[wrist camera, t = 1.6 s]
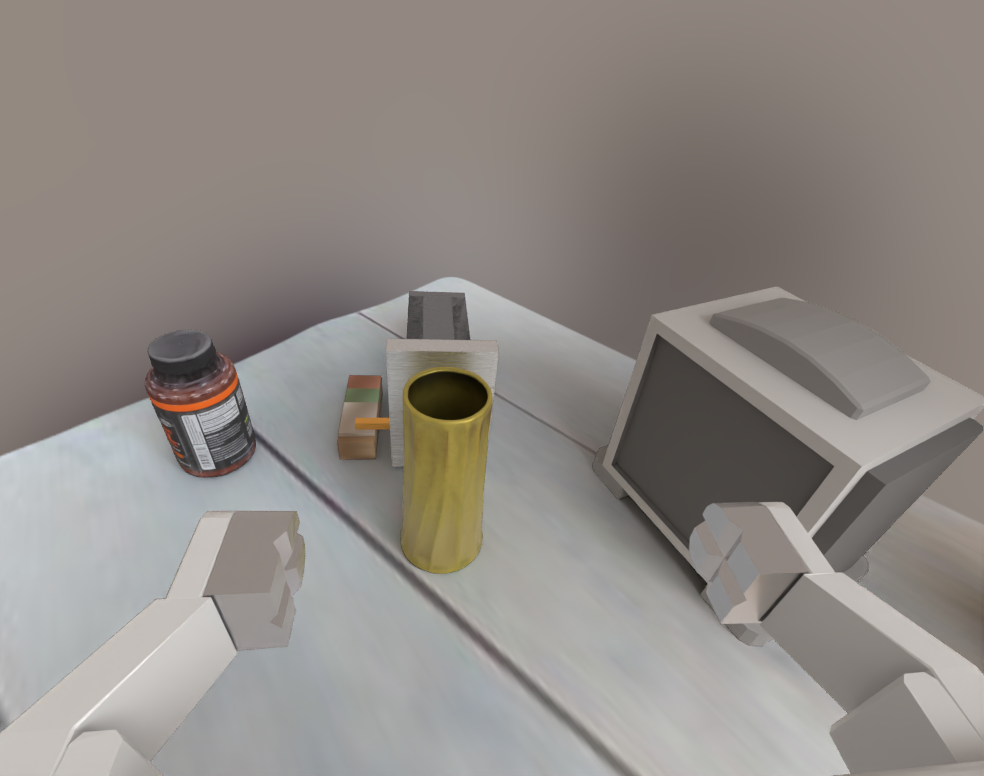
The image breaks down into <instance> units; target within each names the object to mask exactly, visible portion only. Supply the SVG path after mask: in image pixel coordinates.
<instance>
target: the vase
mask: <svg viewBox="0 0 984 776" xmlns="http://www.w3.org/2000/svg"><path fill="white" fill-rule="evenodd" d="M402 397H403V437H404V469H403V523H402V529H401V546H402V549H403V552H404V554H405V555H406V557H407V558H408V560H409V561H410V562H411V563H412V564H414V565H415V566H417V567H418V568H420V569H422V570H425V571H428V572H432V573H437V574H444V573H451V572H455V571H458V570H460V569H462V568H464V567H465V566H467V565H468V564H469V563H471V562H472V561H473V560H474V559H475V557H476V556H477V555H478V553H479V551H480V548H481V545H482V537H483V534H482V514H483V491H484V482H485V471H486V459H487V447H488V435H489V426H490V419H491V411H492V401H493V398H492V391H491V388H490V387H489V385H488V384H487V383H486V382H485V381H484V380H483V379H482V378H481V377H480V376H479V375H477V374H475V373H473V372H471V371H468V370H464V369H460V368H455V367H435V368H430V369H427V370H424V371H421V372H419V373H417V374H415V375H414V376H412V377H411V378H410V379H409V380H408V381H407V382H406V384H405V386H404V388H403V395H402Z"/></svg>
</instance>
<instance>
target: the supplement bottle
mask: <svg viewBox="0 0 984 776" xmlns="http://www.w3.org/2000/svg"><path fill="white" fill-rule="evenodd" d="M148 354H149V357H150V360H151V364H152V366H153V367H152V368H151V369H150V370H149V372H148V374H147V376H146V379H145V387H146V390H147V393H148V395H149V398H150V400H151V401H152V405H153V407H154V409H155V412H156V414H157V416H158V418H159V420H160V422H161V425H162V427H163V429H164V431H165V433H166V436H167V438H168V440H169V442H170V445H171V447H172V450H173V452H174V454H175V457H176V459H177V460H178V462H179V464H180V465H181V467H182V468H183V469H184V470H185V471H186V472H188V473H190V474H192V475H195V476H197V477H217V476H222V475H225V474H228V473H230V472H232V471H235V470H236V469H238V468H239V467H241V466H243V465H244V464H245V463H247V461H248V460H249V459H250V458H251V456H252V455H253V453H254V451H255V447H256V440H255V434H254V431H253V427H252V424H251V420H250V417H249V414H248V410H247V406H246V403H245V400H244V396H243V392H242V389H241V386H240V382H239V379H238V376H237V373H236V369H235V367H234V365H233V363H232V362H231V360H230V359H229V358H228V357H226V356H225V355H223V354H221V353H219V352H216V349H215V347H214V346H213V343H212V340H211V338H210V336H209V335H208V334H206V333H204V332H201V331H198V330H178V331H174V332H170V333H167V334H164V335H162V336H160V337H158V338H156V339H155V340H154V341H153V342H152V343H151V344H150V345H149V347H148Z"/></svg>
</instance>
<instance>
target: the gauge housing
mask: <svg viewBox="0 0 984 776" xmlns="http://www.w3.org/2000/svg"><path fill="white" fill-rule="evenodd" d="M407 339H429V340H470V334H469V326H468V318H467V310H466V301H465V293H451V292H418V291H410V292H409V306H408V324H407Z"/></svg>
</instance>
